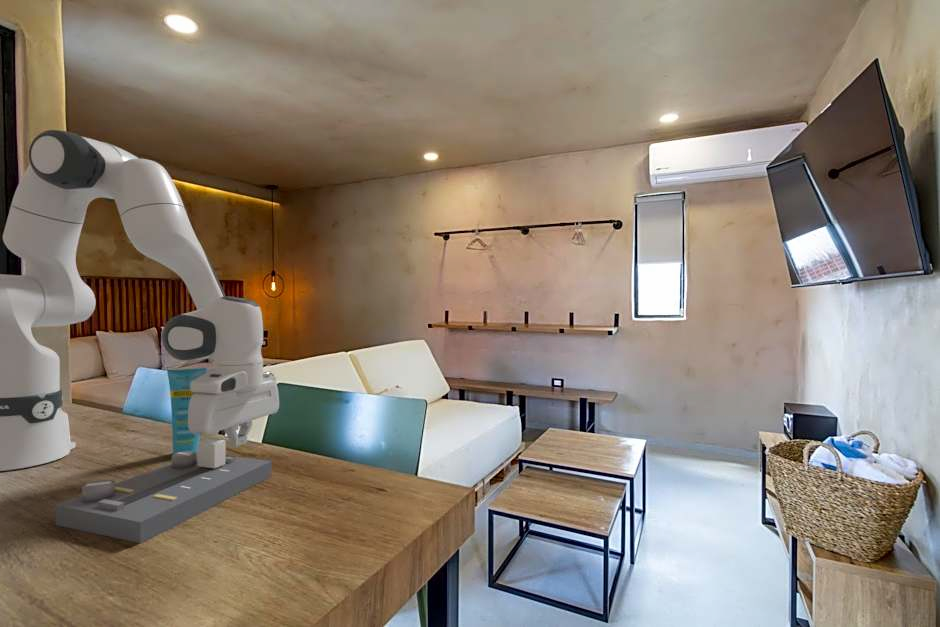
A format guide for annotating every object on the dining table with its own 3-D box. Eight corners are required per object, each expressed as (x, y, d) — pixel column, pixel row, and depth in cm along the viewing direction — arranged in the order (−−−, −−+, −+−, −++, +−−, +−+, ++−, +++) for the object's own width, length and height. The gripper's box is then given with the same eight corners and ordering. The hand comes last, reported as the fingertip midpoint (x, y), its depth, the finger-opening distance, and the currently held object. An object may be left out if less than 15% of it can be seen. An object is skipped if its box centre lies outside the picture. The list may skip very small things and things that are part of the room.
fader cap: (197, 466, 83) (197, 441, 83) (208, 461, 85) (208, 437, 85) (214, 468, 82) (214, 443, 82) (225, 463, 84) (225, 439, 84)
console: (55, 524, 67) (55, 490, 67) (202, 466, 92) (203, 441, 92) (140, 543, 62) (140, 506, 62) (271, 476, 87) (271, 450, 87)
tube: (166, 459, 96) (167, 370, 95) (166, 453, 100) (167, 367, 99) (206, 453, 100) (207, 368, 99) (205, 447, 104) (206, 366, 103)
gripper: (263, 369, 101) (262, 430, 101) (181, 384, 81) (181, 459, 81) (286, 371, 99) (286, 432, 99) (209, 386, 79) (208, 463, 79)
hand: (238, 445), depth 90 cm, fingers closed
